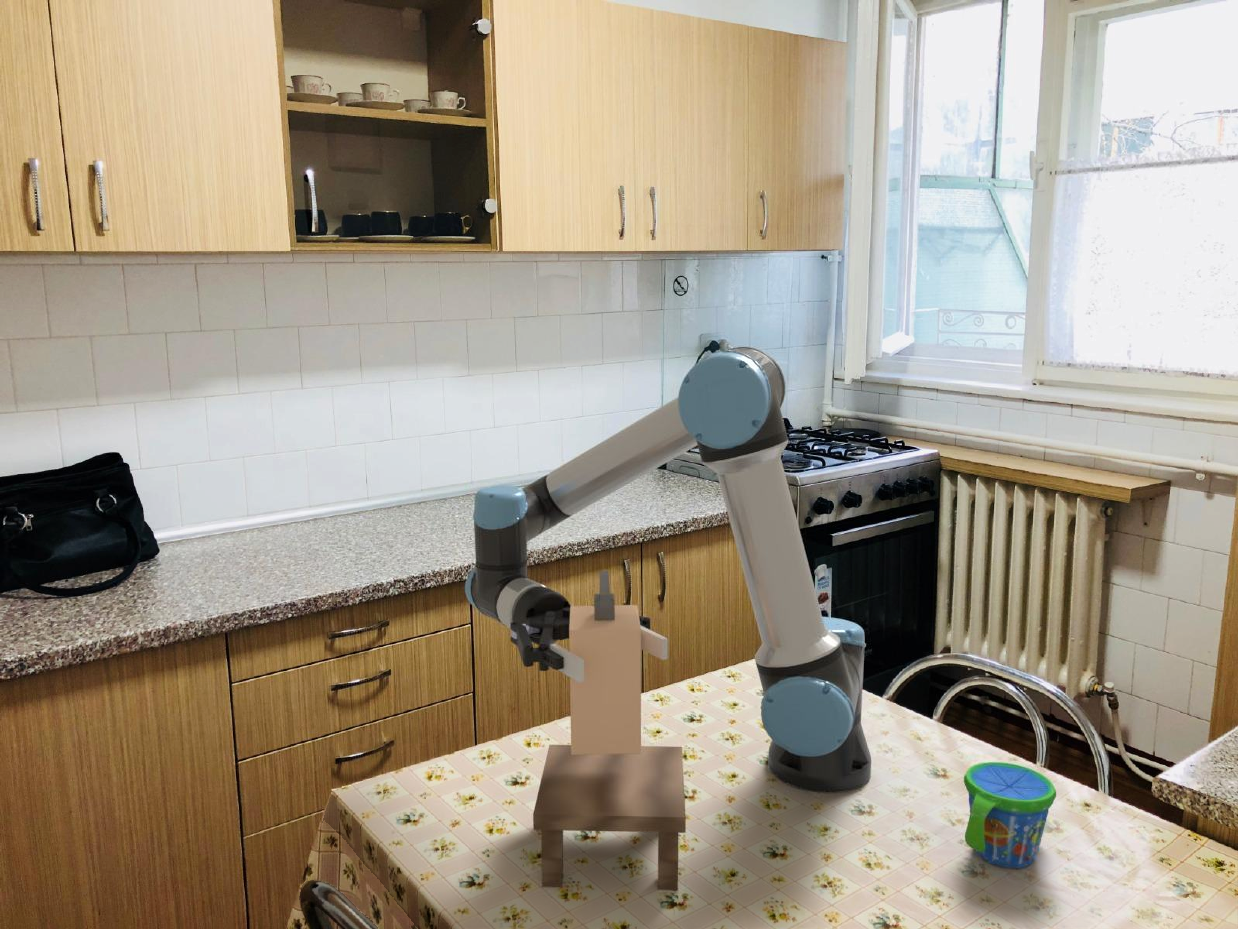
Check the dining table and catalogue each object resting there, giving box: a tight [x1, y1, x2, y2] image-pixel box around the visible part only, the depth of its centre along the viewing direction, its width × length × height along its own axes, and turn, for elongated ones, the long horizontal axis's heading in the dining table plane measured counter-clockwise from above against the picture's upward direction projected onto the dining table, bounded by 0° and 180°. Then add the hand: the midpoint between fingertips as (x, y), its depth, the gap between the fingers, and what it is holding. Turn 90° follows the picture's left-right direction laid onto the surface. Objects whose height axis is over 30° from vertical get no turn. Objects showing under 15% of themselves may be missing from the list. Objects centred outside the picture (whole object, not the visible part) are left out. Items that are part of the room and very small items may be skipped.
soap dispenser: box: [568, 570, 642, 755], centre depth 122 cm, size 13×9×22 cm
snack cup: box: [963, 761, 1057, 869], centre depth 126 cm, size 16×10×10 cm
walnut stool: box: [532, 744, 687, 891], centre depth 127 cm, size 18×18×10 cm
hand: (624, 660), depth 120 cm, fingers closed on soap dispenser, 12 cm apart
